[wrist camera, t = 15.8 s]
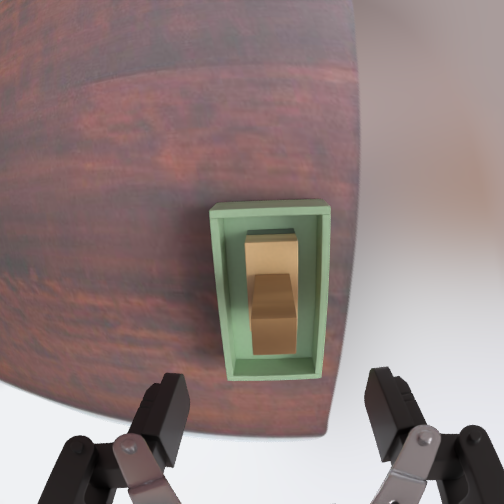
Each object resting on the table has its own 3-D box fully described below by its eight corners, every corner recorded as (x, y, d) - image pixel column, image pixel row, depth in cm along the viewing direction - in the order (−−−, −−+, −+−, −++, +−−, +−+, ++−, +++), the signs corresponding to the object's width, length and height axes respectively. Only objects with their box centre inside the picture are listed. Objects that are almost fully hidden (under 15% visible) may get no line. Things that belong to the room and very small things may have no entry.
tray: (216, 202, 24) (208, 210, 21) (322, 198, 24) (330, 206, 21) (231, 358, 29) (227, 380, 26) (316, 356, 28) (321, 378, 25)
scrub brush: (247, 229, 24) (235, 278, 15) (293, 228, 24) (309, 276, 15) (251, 309, 26) (244, 385, 17) (294, 308, 26) (305, 383, 17)
